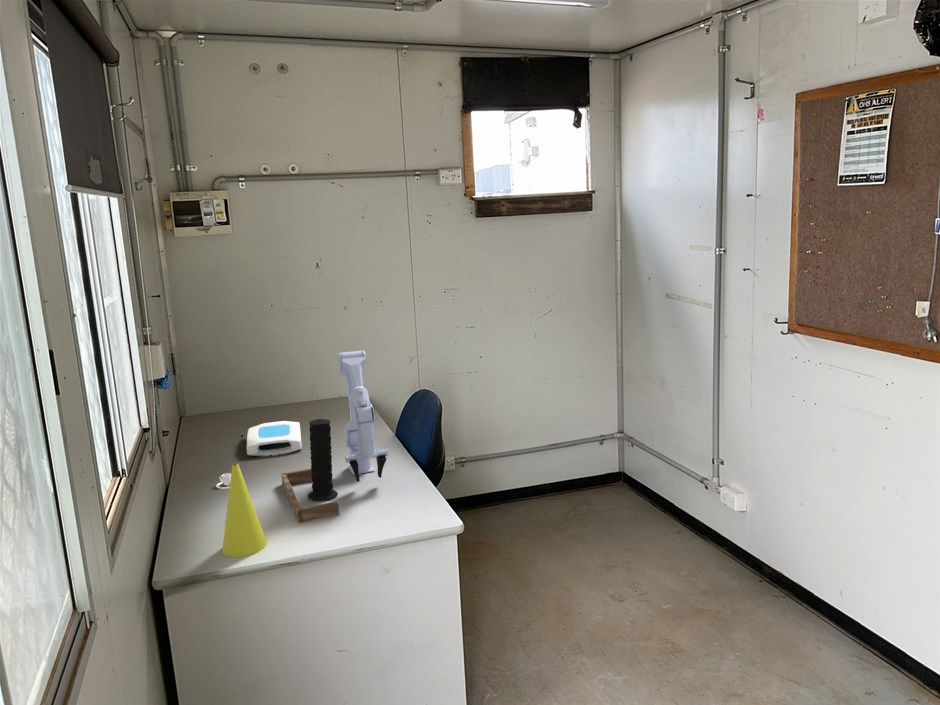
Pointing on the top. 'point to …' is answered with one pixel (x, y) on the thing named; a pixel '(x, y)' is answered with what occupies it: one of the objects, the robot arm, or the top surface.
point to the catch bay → (299, 512)
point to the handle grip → (321, 461)
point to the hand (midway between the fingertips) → (368, 478)
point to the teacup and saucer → (224, 480)
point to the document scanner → (273, 437)
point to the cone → (241, 520)
